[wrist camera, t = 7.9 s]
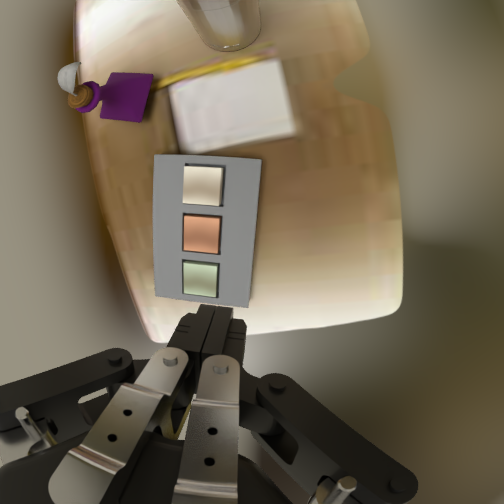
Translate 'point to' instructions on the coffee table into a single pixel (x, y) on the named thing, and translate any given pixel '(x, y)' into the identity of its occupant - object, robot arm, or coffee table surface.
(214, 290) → the sage tile
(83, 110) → the perfume bottle
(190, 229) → the terracotta tile
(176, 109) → the coffee table surface
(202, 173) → the cream tile
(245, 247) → the tile board
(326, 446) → the robot arm
